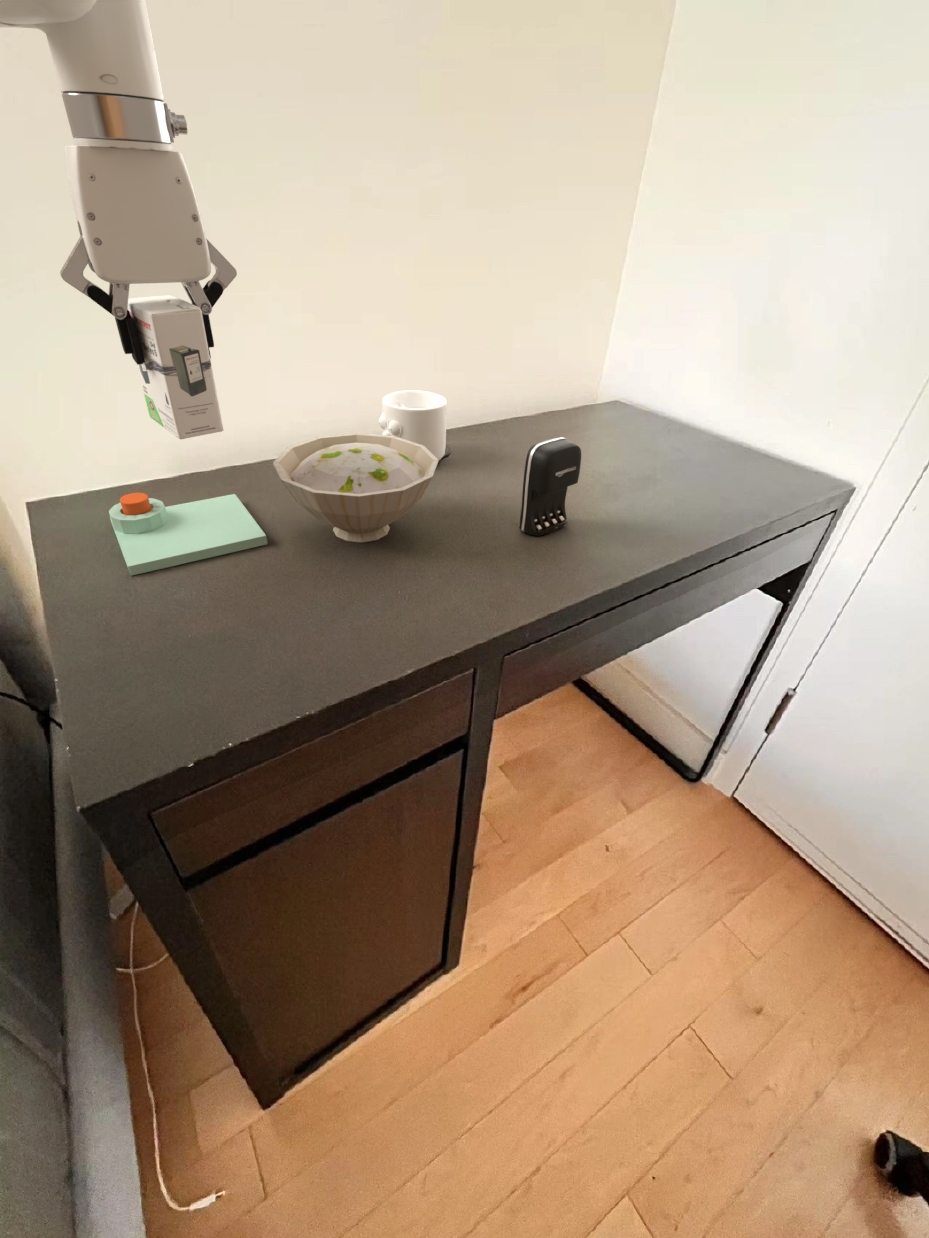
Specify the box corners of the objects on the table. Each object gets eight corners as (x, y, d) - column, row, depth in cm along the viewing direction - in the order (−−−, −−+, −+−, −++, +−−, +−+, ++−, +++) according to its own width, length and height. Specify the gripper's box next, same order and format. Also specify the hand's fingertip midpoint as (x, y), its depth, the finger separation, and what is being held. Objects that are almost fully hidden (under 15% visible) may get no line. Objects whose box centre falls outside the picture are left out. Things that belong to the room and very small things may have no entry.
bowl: (334, 486, 87) (328, 415, 82) (460, 513, 82) (463, 440, 76) (249, 546, 73) (234, 465, 67) (396, 583, 68) (394, 500, 62)
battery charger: (537, 542, 77) (549, 454, 70) (516, 530, 79) (525, 444, 72) (574, 527, 80) (589, 442, 74) (553, 516, 83) (565, 433, 76)
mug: (362, 449, 99) (359, 391, 94) (416, 438, 104) (415, 383, 99) (401, 475, 92) (400, 414, 86) (457, 461, 97) (459, 403, 91)
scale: (130, 576, 66) (122, 551, 65) (112, 526, 75) (105, 503, 73) (267, 544, 73) (264, 521, 72) (236, 502, 82) (232, 480, 80)
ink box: (148, 418, 67) (117, 297, 60) (193, 410, 69) (169, 293, 62) (179, 441, 62) (149, 312, 55) (226, 431, 64) (203, 307, 57)
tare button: (126, 519, 71) (121, 505, 70) (121, 509, 73) (117, 495, 72) (153, 514, 73) (150, 500, 72) (148, 504, 75) (145, 490, 74)
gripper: (215, 136, 57) (247, 343, 68) (-4, 120, 49) (71, 357, 60) (238, 135, 52) (268, 359, 63) (-2, 117, 44) (79, 376, 55)
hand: (171, 356), depth 61 cm, fingers closed on ink box, 5 cm apart
